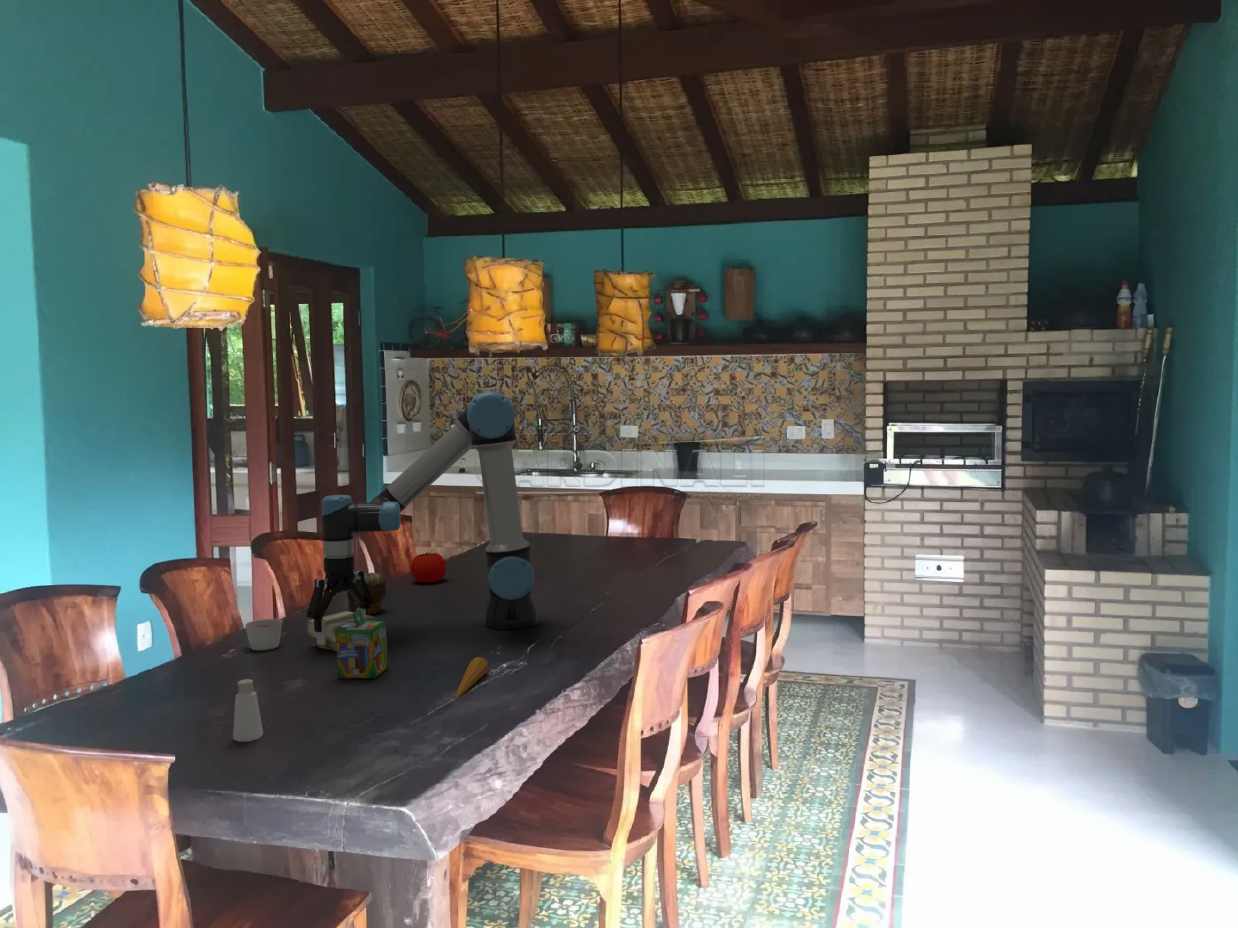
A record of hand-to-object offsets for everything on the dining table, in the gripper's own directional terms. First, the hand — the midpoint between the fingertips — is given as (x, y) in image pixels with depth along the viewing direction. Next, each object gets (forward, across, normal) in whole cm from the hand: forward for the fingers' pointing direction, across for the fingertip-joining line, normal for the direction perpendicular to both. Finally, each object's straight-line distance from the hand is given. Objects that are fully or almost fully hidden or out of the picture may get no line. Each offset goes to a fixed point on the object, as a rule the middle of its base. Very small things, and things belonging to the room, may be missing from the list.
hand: (342, 638), depth 249 cm
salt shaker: (+2, +52, +38) cm, 64 cm away
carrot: (+2, +7, +51) cm, 52 cm away
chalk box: (+2, +13, +24) cm, 27 cm away
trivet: (+2, 0, 0) cm, 2 cm away
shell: (+2, -27, -23) cm, 36 cm away
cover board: (-1, 0, 0) cm, 1 cm away
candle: (+2, +12, -16) cm, 20 cm away
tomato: (+2, -67, -40) cm, 78 cm away
